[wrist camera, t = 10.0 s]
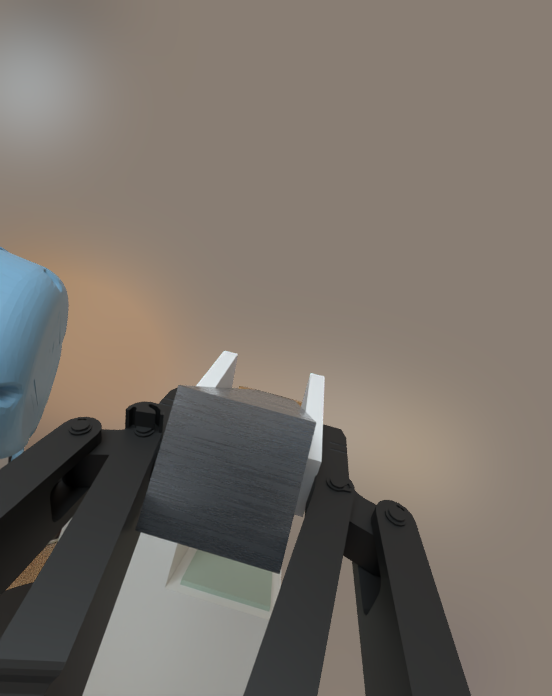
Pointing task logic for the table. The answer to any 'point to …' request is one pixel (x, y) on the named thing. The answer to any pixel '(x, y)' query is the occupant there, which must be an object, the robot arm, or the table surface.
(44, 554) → the table surface
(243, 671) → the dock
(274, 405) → the grey rectangular bar
